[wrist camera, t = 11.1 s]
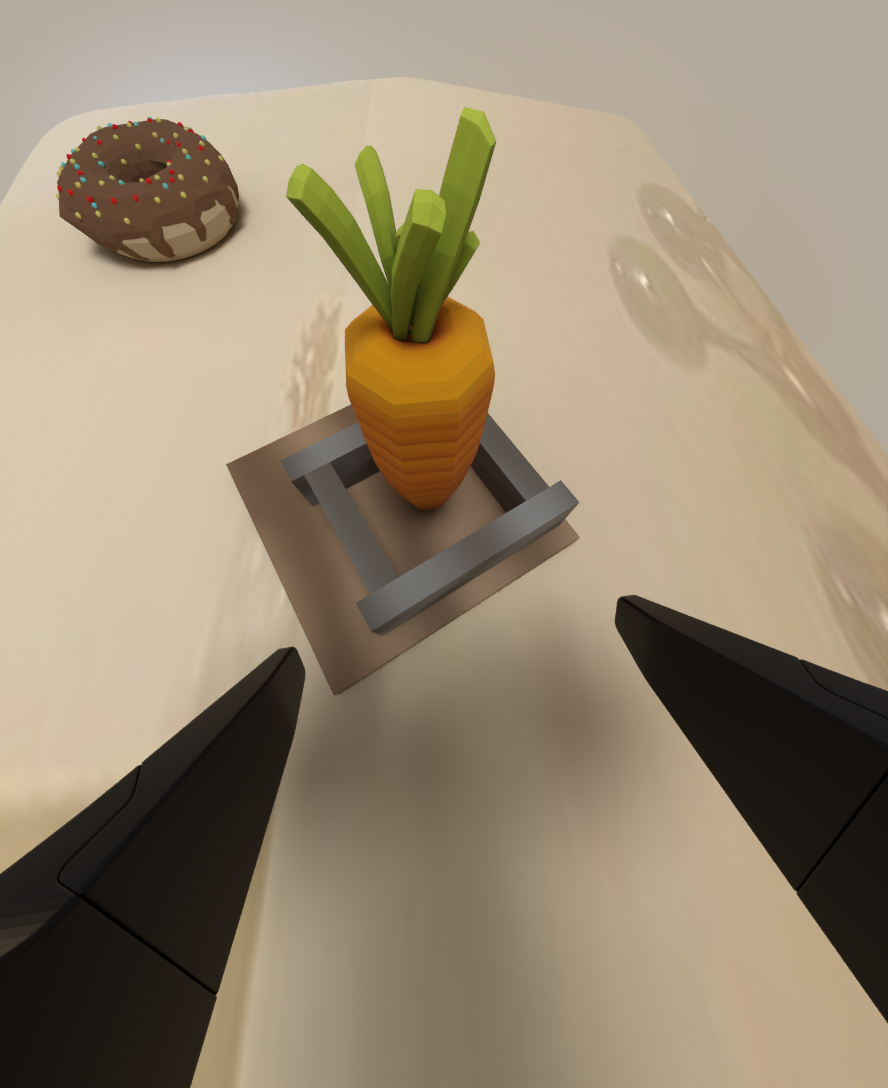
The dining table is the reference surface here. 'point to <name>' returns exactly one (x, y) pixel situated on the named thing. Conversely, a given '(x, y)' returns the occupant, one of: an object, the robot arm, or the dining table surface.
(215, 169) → the donut
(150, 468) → the dining table surface
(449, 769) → the dining table surface
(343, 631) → the grey frame on base
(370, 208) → the carrot
